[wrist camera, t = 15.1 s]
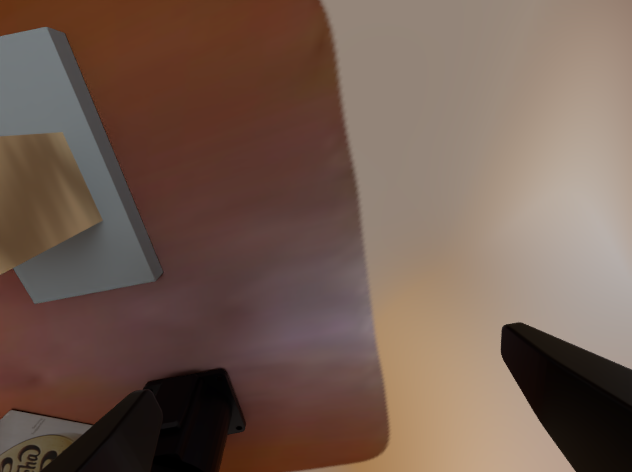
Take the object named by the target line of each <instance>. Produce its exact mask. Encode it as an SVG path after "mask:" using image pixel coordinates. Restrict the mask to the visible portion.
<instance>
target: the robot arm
mask: <svg viewBox="0 0 632 472" xmlns="http://www.w3.org/2000/svg"><path fill="white" fill-rule="evenodd" d="M501 355H502V358H503V360H504V362H505V363H506V365H507V367H508V369H509V370H510V372H511V374H512V375H513V377H514V379H515V381H516V382H517V384H518V386H519V387H520V389H521V391H522V392H523V394H524V396H525V397H526V399H527V401H528V403H529V404H530V406H531V408H532V409H533V411H534V413H535V414H536V415H537V417H538V419H539V421H540V422H541V423H542V425H543V427H544V428H545V429H546V431H547V432H548V434H549V435H550V437H551V438H552V439H553V441H554V442H555V443H556V445H557V446H558V448H559V449H560V450H561V452H562V453H563V454H564V456H565V457H566V459H567V460H568V461H569V463H570V464H571V465H572V467H573V468H574V470H575V471H576V472H632V370H631V369H629V368H627V367H624V366H622V365H620V364H617V363H615V362H613V361H610V360H608V359H605V358H603V357H601V356H598V355H596V354H594V353H592V352H589V351H587V350H585V349H582V348H580V347H578V346H575V345H573V344H570V343H568V342H566V341H563V340H561V339H559V338H556V337H554V336H552V335H549V334H547V333H545V332H542V331H540V330H538V329H536V328H533V327H531V326H529V325H526V324H524V323H512V324H506V325H504V326H503V327H502V337H501ZM219 376H221V377H219ZM245 426H246V422H245V419H244V417H243V414H242V411H241V409H240V406H239V404H238V401H237V398H236V396H235V393H234V390H233V388H232V385H231V382H230V380H229V377H228V374H227V372H226V371H224V370H214V371H208V372H203V373H197V374H192V375H186V376H181V377H175V378H170V379H164V380H158V381H153V382H148V383H147V384H146V385H145V387H144V388H143V390H139V391H134V392H132V393H130V394H129V395H128V396H127V397H126V398H124V399H123V400H122V401H121V402H120V403H119V404H117V405H116V406H115V407H114V408H113V409H112V410H110V411H109V412H108V413H107V414H106V415H105V416H103V417H102V418H101V419H100V420H99V421H98V422H96V423H95V424H94V425H93V426H92V427H91V428H90V429H88V430H87V431H86V432H85V433H84V434H83V435H81V436H80V437H79V438H78V439H77V440H76V441H74V442H73V443H72V444H71V445H70V446H69V447H67V448H66V449H65V450H64V451H63V452H62V453H60V454H59V455H58V456H57V457H56V458H55V459H53V460H52V461H51V462H50V463H49V464H48V465H46V466H45V467H44V468H43V469H42V470H41V471H39V472H219V469H220V464H221V460H222V456H223V451H224V447H225V443H226V438H227V435H228V434H233V433H239V432H243V431H244V430H245Z"/></svg>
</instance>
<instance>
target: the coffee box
mask: <svg viewBox="0 0 632 472" xmlns="http://www.w3.org/2000/svg"><path fill="white" fill-rule="evenodd" d="M92 426H93V425H88V424H83V423H78V422H73V421H68V420H62V419H57V418H52V417H47V416H41V415H36V414H30V413H25V412H20V411H15V410H10V411H9V412H8V413H7V414H6V415H5V416H4V417H3V418H2V419H1V420H0V472H39V471H41V470H42V469H43V468H44V467H45V466H46V465H48V464H49V463H50V462H51V461H52V460H53V459H55V458H56V457H57V456H58V455H59V454H60V453H62V452H63V451H64V450H65V449H66V448H67V447H69V446H70V445H71V444H72V443H73V442H74V441H76V440H77V439H78V438H79V437H80V436H81V435H83V434H84V433H85V432H86V431H87V430H88V429H90V428H91V427H92Z"/></svg>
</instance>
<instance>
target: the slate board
mask: <svg viewBox="0 0 632 472" xmlns="http://www.w3.org/2000/svg"><path fill="white" fill-rule="evenodd" d="M58 132H63V135H64V137H65V139H66V141H67V143H68V146H69V148H70V150H71V152H72V154H73V156H74V159H75V161H76V163H77V165H78V167H79V170H80V172H81V174H82V176H83V178H84V180H85V183H86V185H87V187H88V189H89V191H90V194H91V196H92V198H93V200H94V202H95V204H96V207H97V209H98V211H99V213H100V215H101V218H102V220H103V221H101V222H99V223H97V224H95V225H93V226H91V227H90V228H88V229H86V230H84V231H82V232H80V233H78V234H76V235H74V236H73V237H71V238H69V239H67V240H65V241H63V242H61V243H59V244H58V245H56V246H54V247H52V248H50V249H48V250H46V251H44V252H42V253H41V254H39V255H37V256H35V257H33V258H31V259H29V260H27V261H25V262H24V263H22V264H20V265H18V266H16V267H14V268H13V269H14V271H15V272H16V274H17V276H18V277H19V279H20V281H21V282H22V284H23V285H24V287H25V289H26V290H27V292H28V294H29V295H30V297H31V298H32V300H33V302H34V303H35V304H37V303H42V302H47V301H53V300H58V299H63V298H69V297H74V296H79V295H85V294H90V293H95V292H101V291H106V290H111V289H117V288H122V287H127V286H133V285H138V284H143V283H148V282H154V281H156V280H157V279H158V278H159V277H160V276H161V274H162V273H163V270H162V268H161V266H160V263H159V261H158V258H157V256H156V254H155V251H154V249H153V246H152V244H151V241H150V239H149V237H148V234H147V232H146V229H145V227H144V224H143V222H142V220H141V217H140V215H139V212H138V210H137V208H136V205H135V203H134V200H133V198H132V195H131V193H130V191H129V188H128V186H127V183H126V181H125V178H124V176H123V174H122V171H121V169H120V166H119V164H118V162H117V159H116V157H115V154H114V152H113V149H112V147H111V145H110V142H109V140H108V137H107V135H106V132H105V130H104V128H103V125H102V123H101V120H100V118H99V116H98V113H97V111H96V108H95V106H94V103H93V101H92V99H91V96H90V94H89V91H88V89H87V86H86V84H85V82H84V79H83V77H82V74H81V72H80V70H79V67H78V65H77V62H76V60H75V57H74V55H73V53H72V50H71V48H70V45H69V43H68V40H67V38H66V36H65V33H63V32H60V31H57V30H54V29H51V28H48V27H43V28H38V29H34V30H29V31H24V32H19V33H14V34H10V35H5V36H0V136H14V135H28V134H43V133H58Z"/></svg>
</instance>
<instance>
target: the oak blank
mask: <svg viewBox="0 0 632 472" xmlns="http://www.w3.org/2000/svg"><path fill="white" fill-rule="evenodd" d="M101 221H103V220H102V218H101V215H100V213H99V211H98V209H97V207H96V204H95V202H94V200H93V198H92V196H91V194H90V191H89V189H88V187H87V185H86V183H85V180H84V178H83V176H82V174H81V172H80V170H79V167H78V165H77V163H76V161H75V159H74V156H73V154H72V152H71V150H70V148H69V146H68V143H67V141H66V139H65V137H64V135H63V132H58V133H43V134H28V135H14V136H0V275H1V274H3V273H5V272H7V271H8V270H10V269H12V268H14V267H16V266H18V265H20V264H22V263H24V262H25V261H27V260H29V259H31V258H33V257H35V256H37V255H39V254H41V253H42V252H44V251H46V250H48V249H50V248H52V247H54V246H56V245H58V244H59V243H61V242H63V241H65V240H67V239H69V238H71V237H73V236H74V235H76V234H78V233H80V232H82V231H84V230H86V229H88V228H90V227H91V226H93V225H95V224H97V223H99V222H101Z"/></svg>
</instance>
